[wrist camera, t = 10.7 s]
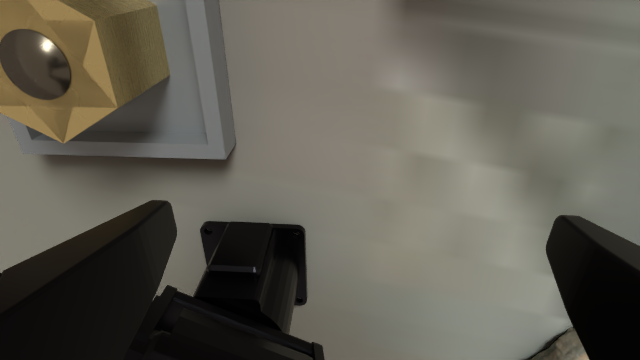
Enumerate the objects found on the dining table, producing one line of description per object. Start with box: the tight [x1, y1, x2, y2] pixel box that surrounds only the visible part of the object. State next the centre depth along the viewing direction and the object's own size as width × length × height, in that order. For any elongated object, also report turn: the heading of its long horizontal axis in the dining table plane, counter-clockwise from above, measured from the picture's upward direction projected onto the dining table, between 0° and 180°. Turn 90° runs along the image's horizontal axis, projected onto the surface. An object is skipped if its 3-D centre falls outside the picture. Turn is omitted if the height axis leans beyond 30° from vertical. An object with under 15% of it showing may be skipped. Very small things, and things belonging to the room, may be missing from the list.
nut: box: [0, 0, 170, 144], centre depth 17 cm, size 6×6×5 cm
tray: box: [7, 0, 236, 159], centre depth 19 cm, size 11×11×2 cm
